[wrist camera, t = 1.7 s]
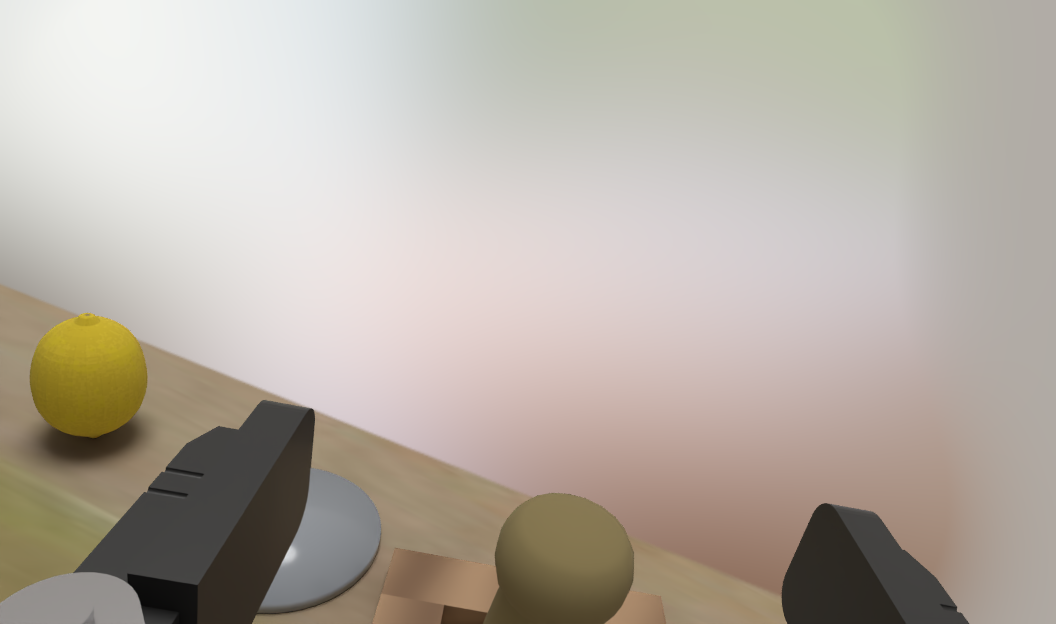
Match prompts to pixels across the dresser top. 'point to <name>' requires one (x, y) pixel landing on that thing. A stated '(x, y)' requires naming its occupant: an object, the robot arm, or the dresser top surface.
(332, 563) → the slate coaster
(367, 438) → the dresser top surface
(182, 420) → the dresser top surface
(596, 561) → the cork
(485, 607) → the walnut board
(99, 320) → the lemon
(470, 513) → the dresser top surface
